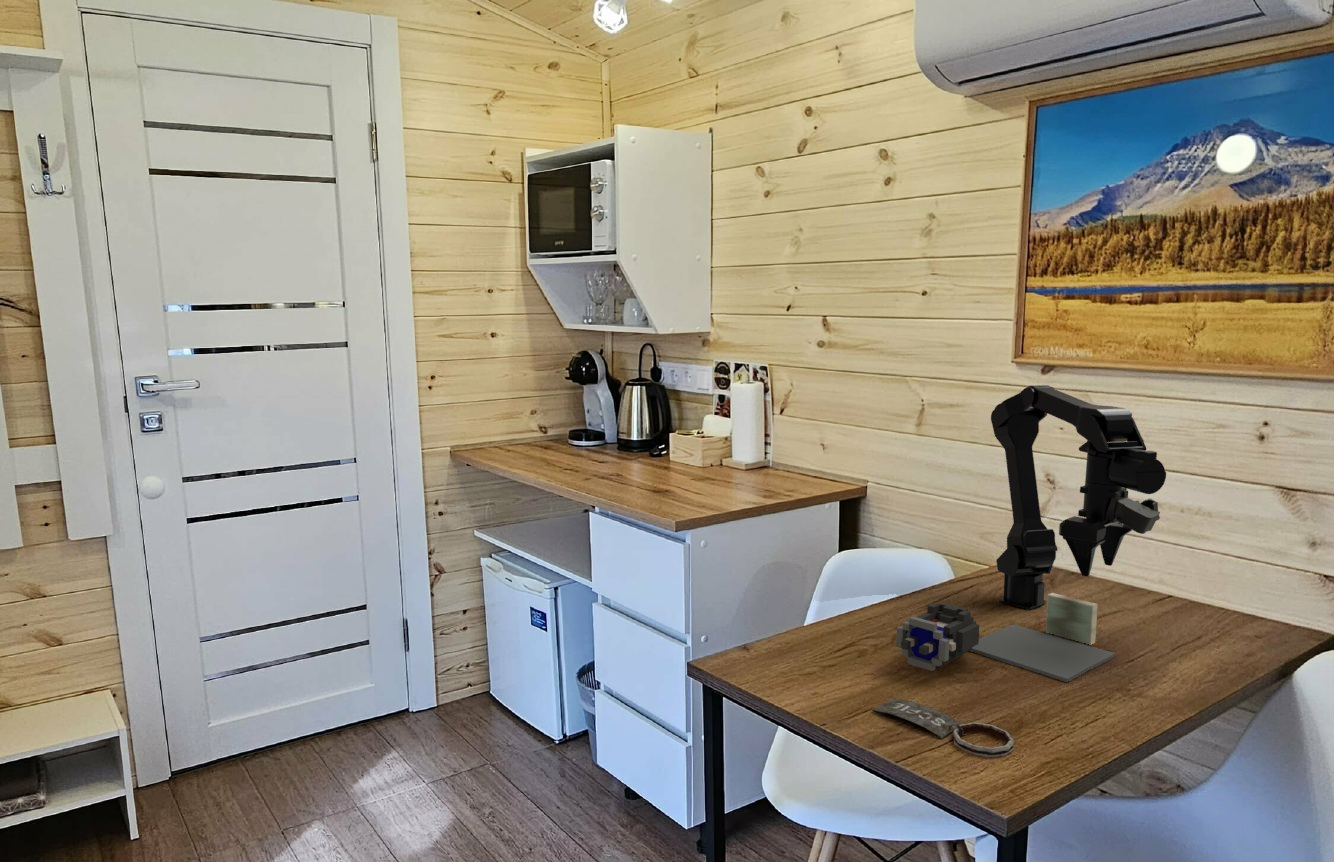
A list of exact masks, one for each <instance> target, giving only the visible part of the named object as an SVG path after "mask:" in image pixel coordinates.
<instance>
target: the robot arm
mask: <svg viewBox="0 0 1334 862" xmlns="http://www.w3.org/2000/svg"><path fill="white" fill-rule="evenodd" d="M1048 415H1050V416H1053V417H1055V418H1057V419H1059V420H1061V421H1064V422H1065V423H1068V424H1070V425H1072V426H1073V427H1075V430H1076V433H1077V434H1079V435H1080V437H1083V438H1084V439H1085V440H1086V442H1084V443H1083V444H1082V445H1080V446H1079V447H1078V451H1080V452H1082V453H1087V454H1086V467H1085V478H1084V479H1085V480H1084V485H1082V486H1080V487H1079V493H1080V494H1083V505H1082V508H1081V509H1078V513H1077V516H1075V515H1074V516H1071V517H1069V518H1065V519H1064V520H1063V521H1061V522H1059V527H1058V531H1059V532H1058V535H1059V536H1062V540H1064V541H1066V544H1067V546H1068V548H1069V549H1070V552H1071V553H1072V556H1073V559H1074V561H1075V563H1076V565H1077V567H1078V569H1079V572H1080V574H1081V576H1083V577H1089V576H1090V574H1091V571H1092V566H1093V562H1094V557H1095V554H1096V550H1097V548H1098V547H1099V546H1100V550H1101V555H1102V559H1103V562H1104V565H1105V566H1110V567H1111V566H1113V563H1114V562H1115V559H1116V556H1117V553H1118V551H1119V549H1120V547H1121V544H1122V541H1123V539H1124V537H1125V536H1126V535H1128V534H1129V533H1131V532H1132V531H1134V532H1136V533H1137V534H1141V535H1142V534H1143V535H1144V534H1146V533H1147V532H1151V531H1152V530H1153V528H1154V525H1155V524H1156V522H1157V521H1159V520H1160V518H1161V517H1160V513H1161V511H1159V502H1158V501H1157V500H1154V499H1152V498H1150V497H1149V498H1147V499H1145V500H1143V501H1142V502H1140V501H1139V500H1134V499H1132V498H1129V490H1130V491H1134V492H1137V493H1142V494H1146V495H1152V494H1156V493H1157V492H1159V490H1161V489H1162V487H1163V486H1164V484H1165V482H1166V478H1167V472H1166V468H1165V465H1163V463H1162V462H1161V461H1160V460H1159V459H1157V457H1158V456H1157V455H1158V453H1157V451H1154V450H1147V446H1146V444H1145V442H1144V441H1145V439H1144V438H1143V437H1142V435H1141V433H1140V430H1139V427H1138V426H1137V423H1136V421H1135V419H1134V417H1133V414H1132V412H1131V411H1130V410H1129V409H1127V408H1125V407H1118V406H1112V405H1099V404H1092V403H1090V402H1087V401H1086V400H1082V399H1080V398H1078V397H1076V396H1072V395H1070V394H1067V393H1066V392H1063V391H1060V390H1057V389H1055V387H1053V386H1050V385H1048V384H1045V385H1044V384H1042V385H1028V386H1027V387H1025V388H1023V389H1022V390H1021V391H1020V392H1019V393H1016V394H1015V395H1013V396H1011V397H1008V398H1007V399H1004V400H1003V401H1001V403H998V404H997V405H996V406H995V407H994V409H993V410H992V412H991V414H990V421H991V424H992V425H991V426H992V429H993V434H994V437H995V439H996V440H997V441H998V443H999V444H1000V445H1001V446H1002V447H1003V449H1004V452H1005V462H1006V468H1007V478H1008V485H1009V495H1010V501H1011V502H1010V503H1011V510H1012V520H1013V522H1012V523H1013V524H1012V525H1011V528H1010V530H1009V532H1008V534H1007V536H1006V549H1005V550H1004V551H1003V552H1002V553H1001V554H1000V555H999V557H997V558H996V566H997V571H998V572H1001V573H1003V575H1004V576H1003V577H1004V578H1003V579H1004V580H1003V597H1001V598H998V602H999V603H1002V604H1006V605H1010V606H1014V607H1017V608H1020V609H1025V610H1028V611H1030V610H1032V609H1035V608H1038V607H1040V606H1043V605H1045V604H1047V601H1046V600H1045V585H1046V584H1045V582H1044V581H1043V579H1044V574H1045V575H1046V574H1047V575H1049V574H1051V571H1052V568H1053V565H1054V562H1055V561H1056V560H1057V559H1056V558H1057V551H1058V547H1057V545H1056V533H1055V531H1054V528H1050V529H1049V528H1047V526H1046V525H1045V524H1044V522H1043V521H1042V516H1041V509H1040V507H1041V506H1040V500H1039V499H1040V498H1039V492H1038V485H1037V476H1036V469H1035V467H1036V466H1035V459H1034V452H1033V446H1034V443H1035V442H1036V440H1037V437H1038V435H1039V433H1040V425H1039V424H1040V422H1041V421H1043V419H1044V418H1046V417H1047V416H1048Z"/></svg>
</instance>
